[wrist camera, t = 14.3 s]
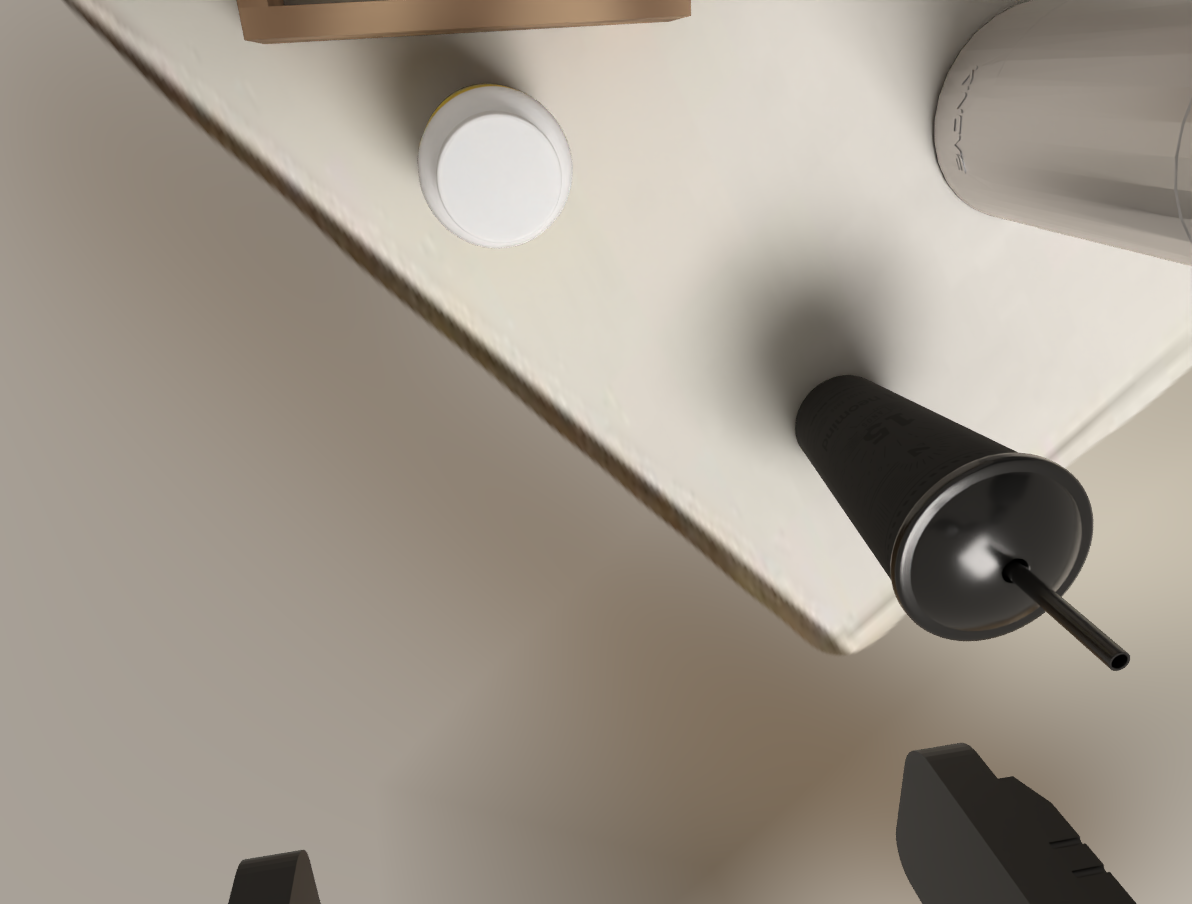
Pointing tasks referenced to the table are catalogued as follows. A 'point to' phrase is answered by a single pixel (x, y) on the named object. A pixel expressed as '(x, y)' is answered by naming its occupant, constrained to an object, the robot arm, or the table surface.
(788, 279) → the table surface
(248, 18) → the square wooden frame
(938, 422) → the drinking cup
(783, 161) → the table surface
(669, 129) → the table surface
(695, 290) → the table surface
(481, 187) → the supplement bottle
